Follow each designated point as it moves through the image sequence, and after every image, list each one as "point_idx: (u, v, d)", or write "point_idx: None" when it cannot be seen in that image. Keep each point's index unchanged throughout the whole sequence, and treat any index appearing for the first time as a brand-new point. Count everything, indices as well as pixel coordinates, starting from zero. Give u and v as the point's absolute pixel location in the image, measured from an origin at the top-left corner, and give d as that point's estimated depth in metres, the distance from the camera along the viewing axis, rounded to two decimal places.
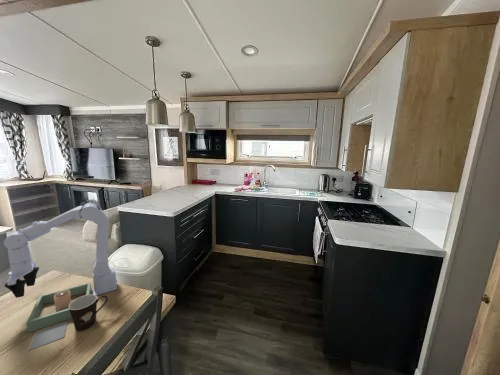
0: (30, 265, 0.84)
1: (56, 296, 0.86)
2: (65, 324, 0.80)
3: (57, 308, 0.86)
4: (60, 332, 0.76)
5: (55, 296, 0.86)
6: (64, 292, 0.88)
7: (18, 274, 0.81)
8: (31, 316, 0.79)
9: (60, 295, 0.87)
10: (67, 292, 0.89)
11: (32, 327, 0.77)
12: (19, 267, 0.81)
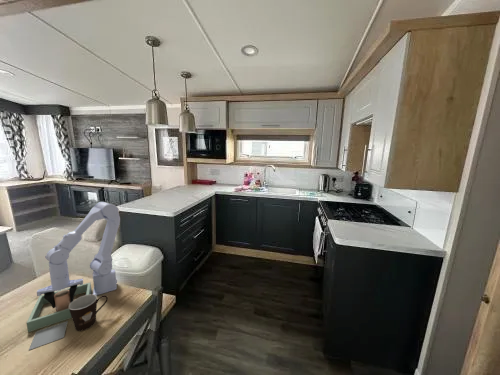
0: (58, 284, 0.85)
1: (56, 296, 0.86)
2: (65, 324, 0.80)
3: (57, 308, 0.86)
4: (60, 332, 0.76)
5: (55, 296, 0.86)
6: (64, 292, 0.88)
7: (51, 287, 0.85)
8: (31, 316, 0.79)
9: (60, 295, 0.86)
10: (67, 292, 0.89)
11: (32, 327, 0.77)
12: (51, 282, 0.85)
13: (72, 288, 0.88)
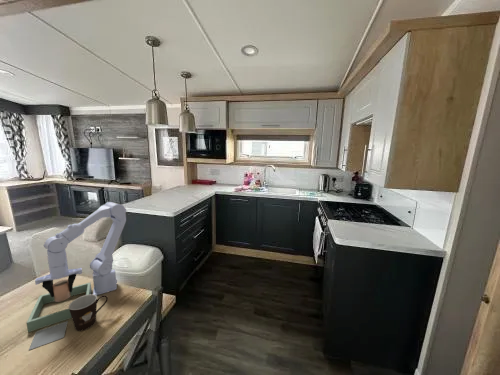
0: (57, 273, 0.84)
1: (55, 285, 0.85)
2: (65, 324, 0.80)
3: (56, 297, 0.85)
4: (60, 332, 0.76)
5: (54, 285, 0.85)
6: (63, 282, 0.88)
7: (49, 276, 0.85)
8: (31, 316, 0.79)
9: (59, 284, 0.86)
10: (66, 282, 0.88)
11: (32, 327, 0.77)
12: (49, 270, 0.84)
13: (71, 277, 0.87)
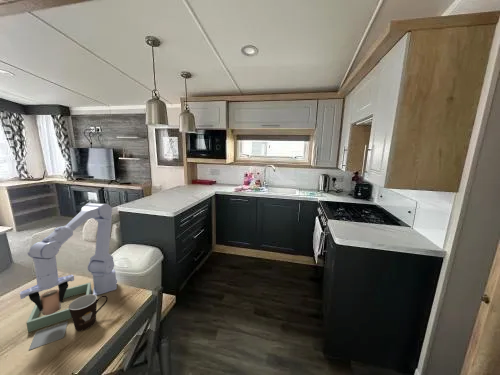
0: (48, 282, 0.75)
1: (43, 297, 0.76)
2: (65, 324, 0.80)
3: (45, 310, 0.76)
4: (60, 332, 0.76)
5: (42, 297, 0.76)
6: (52, 292, 0.78)
7: (36, 287, 0.74)
8: (31, 316, 0.79)
9: (48, 295, 0.77)
10: (56, 291, 0.79)
11: (32, 327, 0.77)
12: (37, 280, 0.74)
13: (63, 285, 0.79)
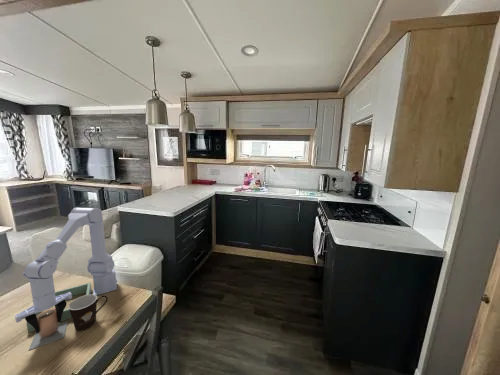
0: (46, 302, 0.72)
1: (40, 318, 0.72)
2: (65, 324, 0.80)
3: (43, 332, 0.73)
4: (60, 332, 0.76)
5: (39, 318, 0.72)
6: (49, 312, 0.75)
7: (33, 309, 0.71)
8: None
9: (46, 316, 0.73)
10: (53, 311, 0.76)
11: (32, 327, 0.77)
12: (34, 302, 0.71)
13: (61, 304, 0.76)
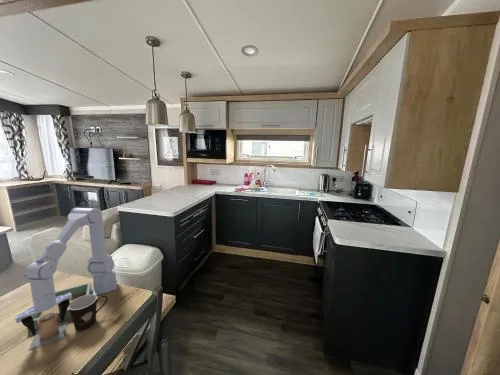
0: (46, 303, 0.72)
1: (41, 321, 0.73)
2: (65, 324, 0.80)
3: (44, 335, 0.73)
4: (60, 332, 0.76)
5: (40, 322, 0.72)
6: (50, 315, 0.75)
7: (33, 309, 0.71)
8: None
9: (46, 319, 0.73)
10: (54, 314, 0.76)
11: None
12: (34, 302, 0.71)
13: (61, 305, 0.76)
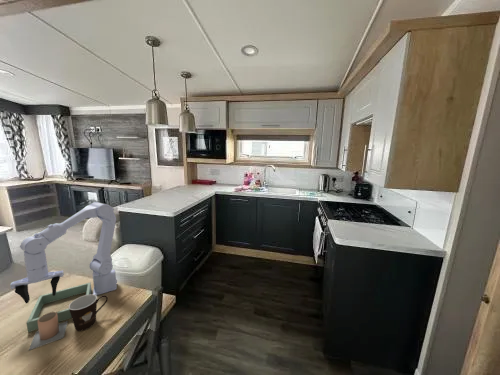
0: (35, 276, 0.78)
1: (41, 321, 0.73)
2: (65, 324, 0.80)
3: (43, 335, 0.73)
4: (60, 332, 0.76)
5: (40, 321, 0.72)
6: (50, 315, 0.75)
7: (27, 279, 0.78)
8: (31, 316, 0.79)
9: (47, 319, 0.73)
10: (54, 314, 0.76)
11: (32, 327, 0.77)
12: None
13: (51, 280, 0.81)
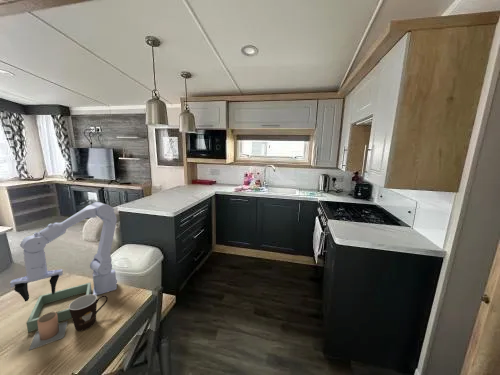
0: (34, 274, 0.78)
1: (41, 321, 0.72)
2: (65, 324, 0.80)
3: (43, 335, 0.73)
4: (60, 332, 0.76)
5: (40, 322, 0.72)
6: (50, 316, 0.75)
7: (26, 278, 0.79)
8: (31, 316, 0.79)
9: (46, 319, 0.73)
10: (54, 315, 0.76)
11: (32, 327, 0.77)
12: (26, 272, 0.79)
13: (50, 279, 0.82)
